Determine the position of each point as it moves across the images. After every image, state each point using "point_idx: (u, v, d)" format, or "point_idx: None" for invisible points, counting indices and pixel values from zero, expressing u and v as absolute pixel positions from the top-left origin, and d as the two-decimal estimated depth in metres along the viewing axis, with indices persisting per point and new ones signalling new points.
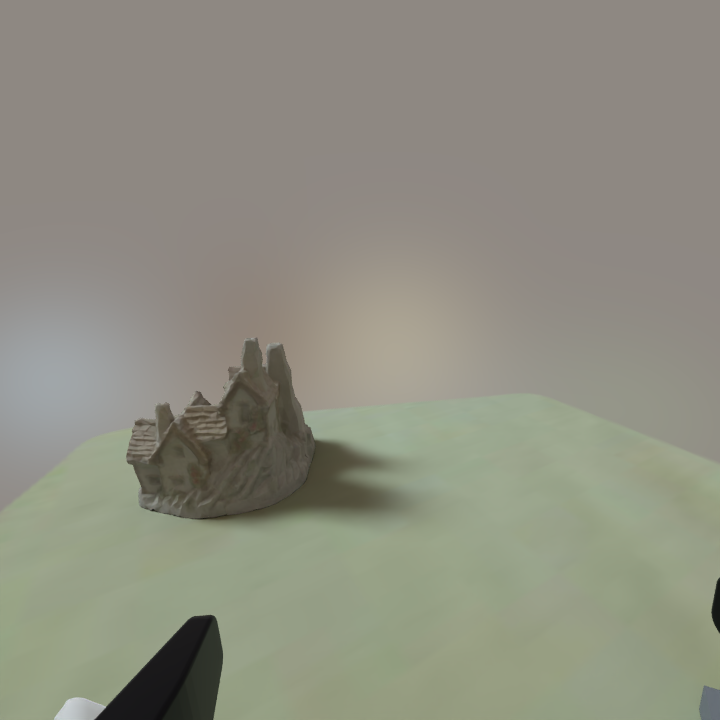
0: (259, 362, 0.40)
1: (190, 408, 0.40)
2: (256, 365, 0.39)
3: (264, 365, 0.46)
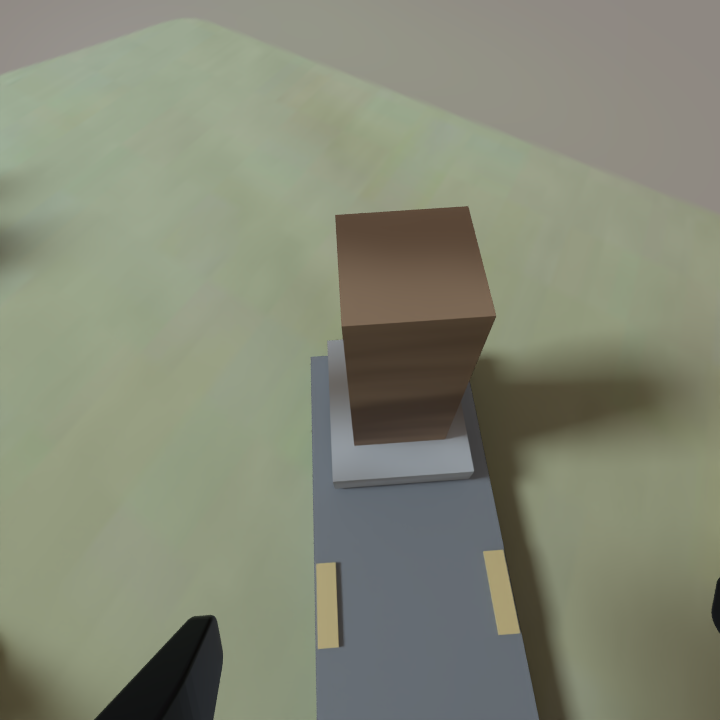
0: None
1: None
2: None
3: None
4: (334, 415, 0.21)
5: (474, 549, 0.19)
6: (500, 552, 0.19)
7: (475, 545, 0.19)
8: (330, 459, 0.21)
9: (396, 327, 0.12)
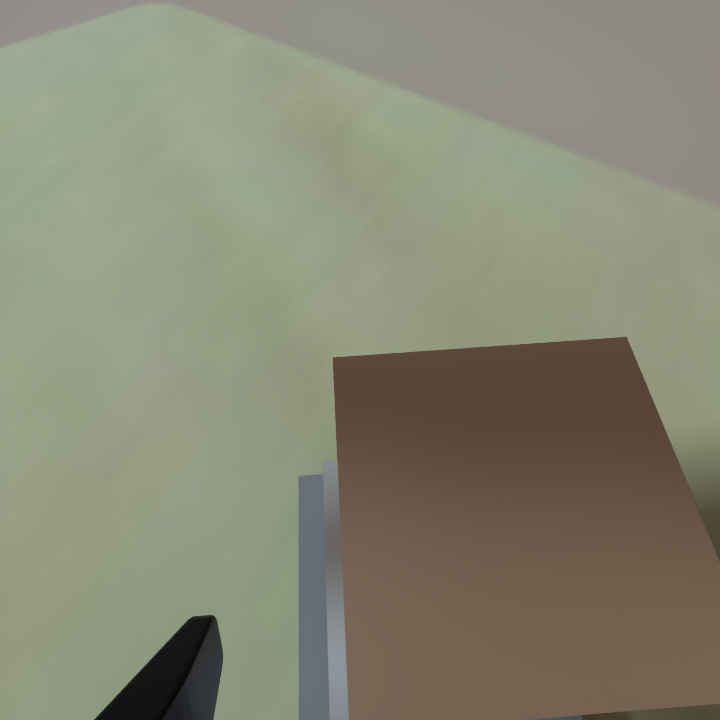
0: None
1: None
2: None
3: None
4: (332, 596, 0.13)
5: None
6: None
7: None
8: (326, 658, 0.14)
9: (498, 717, 0.04)
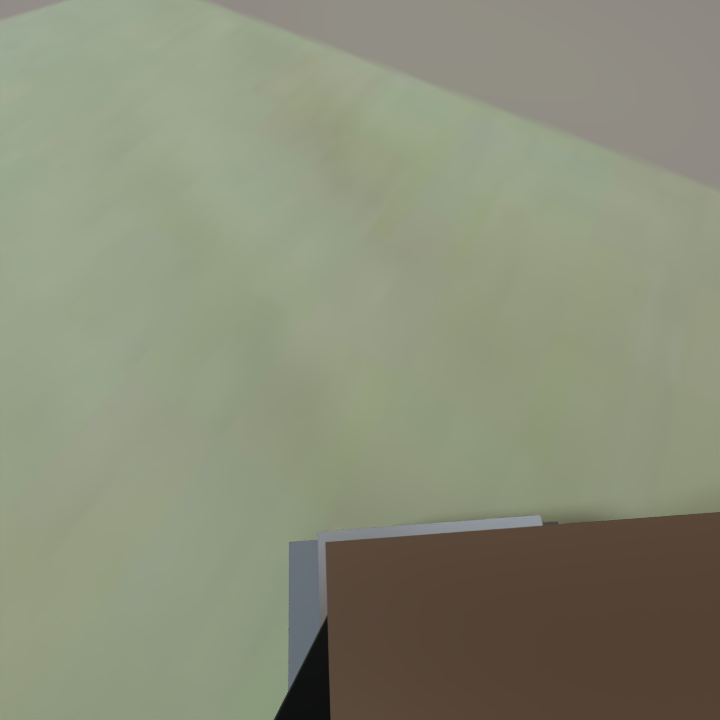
0: None
1: None
2: None
3: None
4: None
5: None
6: None
7: None
8: None
9: None
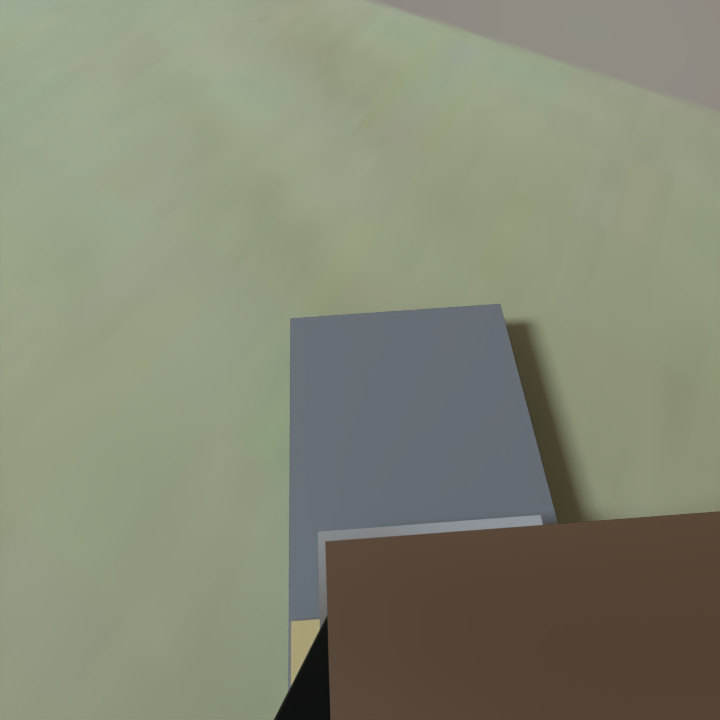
0: None
1: None
2: None
3: None
4: None
5: None
6: None
7: None
8: (315, 460, 0.15)
9: None
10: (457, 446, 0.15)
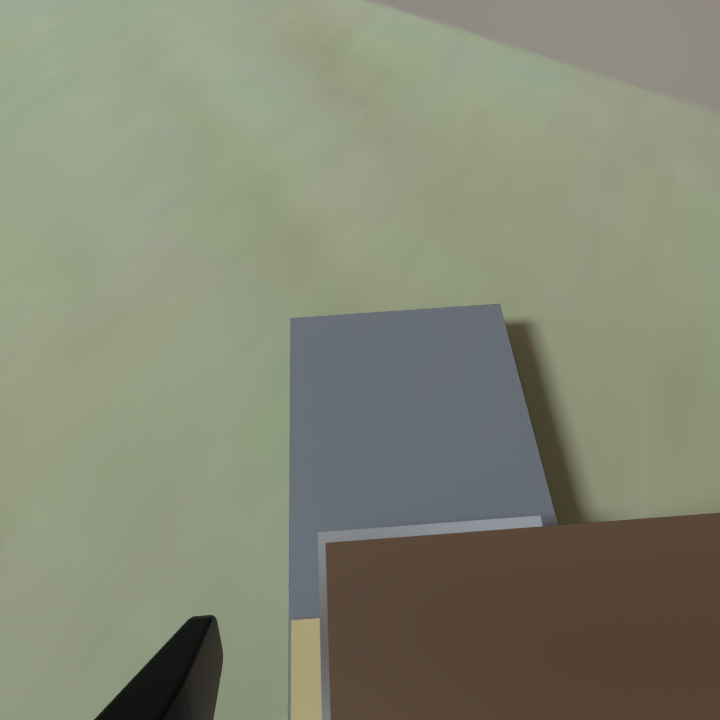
0: None
1: None
2: None
3: None
4: (329, 718, 0.10)
5: None
6: None
7: None
8: (315, 460, 0.15)
9: None
10: (457, 446, 0.15)
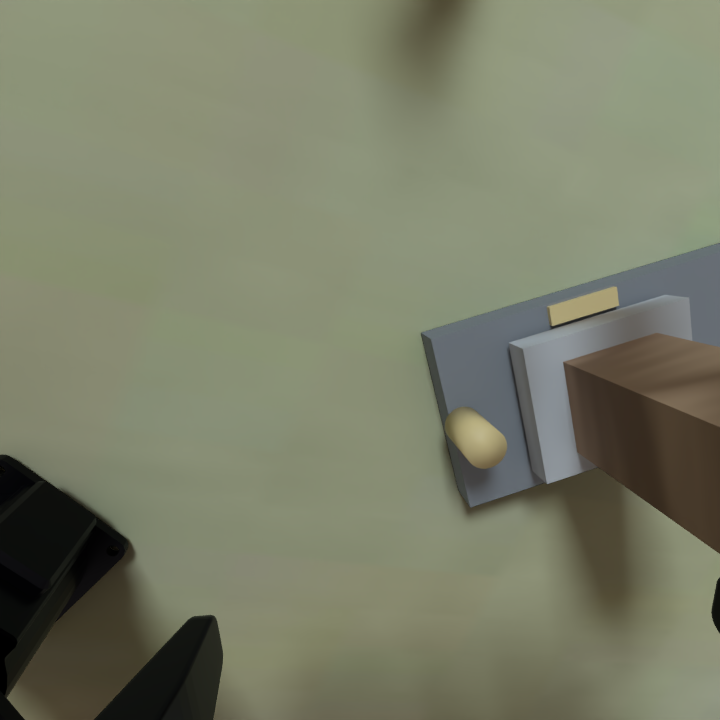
0: None
1: None
2: None
3: None
4: (596, 330, 0.18)
5: None
6: None
7: None
8: (710, 274, 0.20)
9: None
10: None
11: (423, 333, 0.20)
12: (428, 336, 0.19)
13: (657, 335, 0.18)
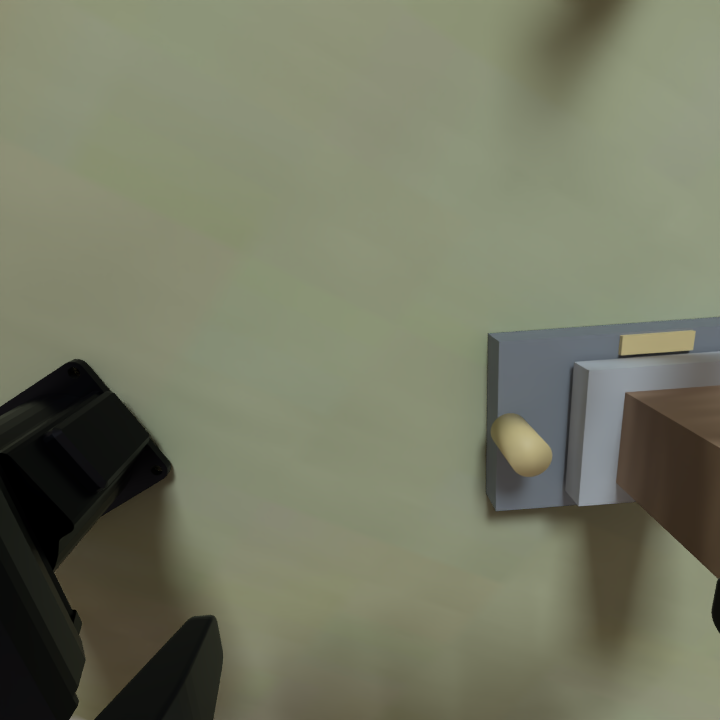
0: None
1: None
2: None
3: None
4: (666, 369, 0.18)
5: None
6: None
7: None
8: None
9: None
10: None
11: (490, 334, 0.20)
12: (496, 338, 0.19)
13: None
